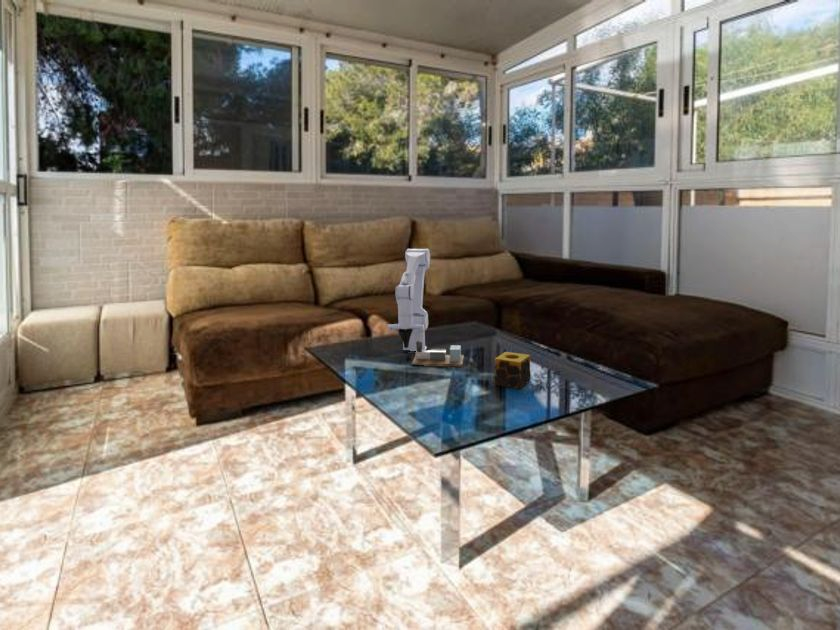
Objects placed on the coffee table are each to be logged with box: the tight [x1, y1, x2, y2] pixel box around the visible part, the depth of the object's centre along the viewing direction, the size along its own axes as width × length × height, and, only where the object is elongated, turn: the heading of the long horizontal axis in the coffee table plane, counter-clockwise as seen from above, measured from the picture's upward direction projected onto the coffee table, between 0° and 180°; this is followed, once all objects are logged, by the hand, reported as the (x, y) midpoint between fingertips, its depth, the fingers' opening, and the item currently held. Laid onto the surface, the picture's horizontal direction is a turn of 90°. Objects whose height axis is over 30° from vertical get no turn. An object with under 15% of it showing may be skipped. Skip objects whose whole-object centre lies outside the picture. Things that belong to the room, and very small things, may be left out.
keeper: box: [449, 344, 462, 362], centre depth 226 cm, size 4×6×5 cm, turn 172°
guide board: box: [411, 354, 465, 367], centre depth 227 cm, size 20×12×1 cm, turn 82°
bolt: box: [415, 341, 447, 359], centre depth 227 cm, size 12×3×7 cm, turn 82°
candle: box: [493, 351, 531, 390], centre depth 199 cm, size 10×10×10 cm
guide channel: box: [430, 348, 447, 361], centre depth 227 cm, size 6×5×4 cm
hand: (406, 347), depth 228 cm, fingers closed
